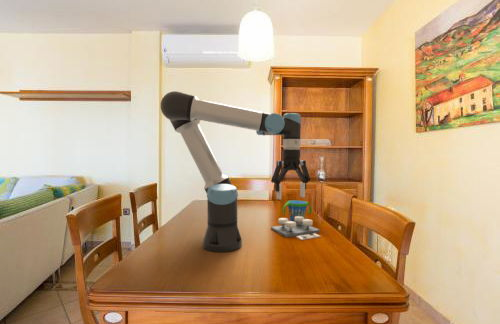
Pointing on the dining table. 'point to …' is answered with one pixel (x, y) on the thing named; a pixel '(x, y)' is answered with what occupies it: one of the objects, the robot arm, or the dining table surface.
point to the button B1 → (307, 222)
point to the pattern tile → (308, 236)
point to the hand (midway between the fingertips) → (290, 198)
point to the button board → (295, 230)
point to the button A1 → (290, 224)
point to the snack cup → (297, 208)
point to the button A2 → (282, 221)
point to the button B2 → (299, 219)
